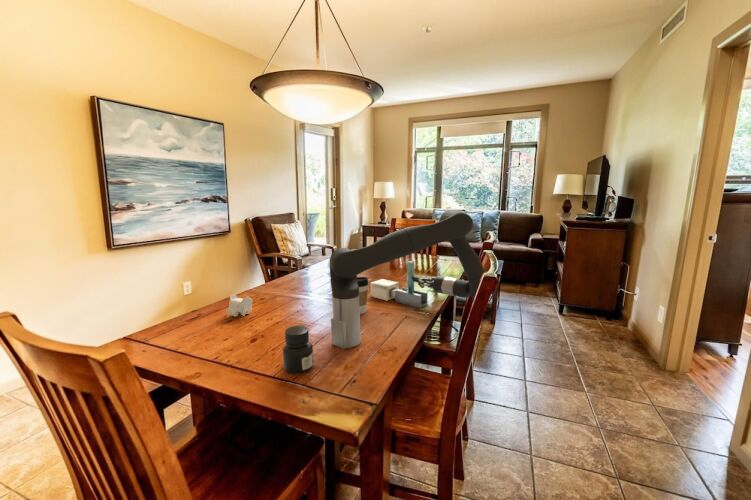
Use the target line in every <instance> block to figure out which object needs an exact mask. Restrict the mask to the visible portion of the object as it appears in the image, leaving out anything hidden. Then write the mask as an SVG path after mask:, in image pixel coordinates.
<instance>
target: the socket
mask: <svg viewBox="0 0 751 500" xmlns="http://www.w3.org/2000/svg"><path fill="white" fill-rule="evenodd" d="M399 286H400V285H399V281H393V280H389V279H384V278H380V279H378V280H375V281H372V282H370V297H372V298H376V299H379V300H383V301H389V300H392V299H394V298H392V297H390V290H391V289H394V288H396V289H399Z"/></svg>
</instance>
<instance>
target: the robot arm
mask: <svg viewBox="0 0 751 500" xmlns="http://www.w3.org/2000/svg"><path fill="white" fill-rule="evenodd" d="M473 226H474V220H473V219H472V217H471V216H470V215H469V214H467V213H466V212H463V211H459V210H454V209H448V210H445V211H444V212H443V213H442V214H441V215H440V218H439V221H438V222H434V223H431V224H430V223H429V224H422V225H421V224H420V225H413V226H409V227H404V228H402V229H401V228H400V229H399V230H398V229H397V230H395V231H392V232H390V233H388V234H386V235H384V236H382V237H381V238H380V239H378V240H377V241H375V242H374V243H371V244H369V245H367V246H364V247H360V248H357V249H350V248H347V247H340V248H337V249H335V250H334V251H332V253H331V255H330V258H329V274H330V275H329V276H330V277H329V278H330V288H331V297H332V298H331V299H332V317H331V318H330V325H331V326H330V327H331V328H330V330H331V344H332V345H334V346H336V347H337V348H340V349H342V350H345V349H350V348H355V347H357V346H359V345H360V344H361V314H360V305H359V286H358V282H357V276H358V275H359V274H361V273H364V272H366V271H368V270H370V269H372V268H374V267H376V266H380V265H382V264H386V263H390V262H392V261H395V260H399V259H401V258H405V257H407V256H410V255H412V254H416V253H417V252H420V251H423V250H426V249H427V248H430V247H433V246H436V245H438V244H441V243H445V242H449V243H450V245H451V247H452V248H453V250H454V252H455V253H456V256H457V258H458V260H459V262H460V264H461V266H462V269H463V271H464V273H465V276H466V278H467V280H463V279H458V278H455V277H451V276H446V275H441V274H439V275H437V276H436V275H435V276H429V275H427V276H421V277H420V276H415V275H414V277H413V282H414V283H417V285H418V286H419V287H420V288H422V289H425V287H427V288H430V289H431V288H432V289H433V291H434V292H435V293H439V294H441V295H446V296H451V297H452V296H453V297H458V298H463V299H466V298H469V297H470V298H471V299H472V301H473V298H474V294H475V292H476V290H477V286H478V284H479V281H480V278H481V276H482V274H483V273H484V272H485V273H486V270H485V268H484V266H483V263H482V261H481V259H480V257H479V256H478V254H477V253H476V252H475V251H476V250H474V248H473V246H472V245H471V244H470V243H469V241H468V239H467V237H466V236H467V235H469V234H470V233H471V231H472V229H473ZM496 292H497V287H496V288H495V290H494V292H493V294H492V296H491V298H490V300H489V303H491V300H492V299H493V297H494V296H495V295H496Z"/></svg>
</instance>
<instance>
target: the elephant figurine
mask: <svg viewBox="0 0 751 500" xmlns="http://www.w3.org/2000/svg"><path fill="white" fill-rule="evenodd" d="M253 302H254V300H253V299H252V298H251V297H250V296H247V295H246V296H245V297H244V298H241V297H238V295H237V294H236V293H232V294H231V295H230V298H229V302H228V308H227V309H226V310H225V312H224V314H226V313H228V315H229V316H232V317H238V316H239V315H240V314H241V315H245V314H246V313H250V312H251V313H252V311H253V307H252V305H253ZM239 312H240V313H239ZM236 313H239V315H238V314H236ZM241 315H240V316H241Z"/></svg>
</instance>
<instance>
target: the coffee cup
mask: <svg viewBox="0 0 751 500" xmlns="http://www.w3.org/2000/svg"><path fill="white" fill-rule="evenodd" d="M357 282H358V286H359V305H360V315H362V314H365V313H366V312H367V304H368V293H369V292H368V290H369V289H368V286H369V279H368V277H367V276H359V277H357Z"/></svg>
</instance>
